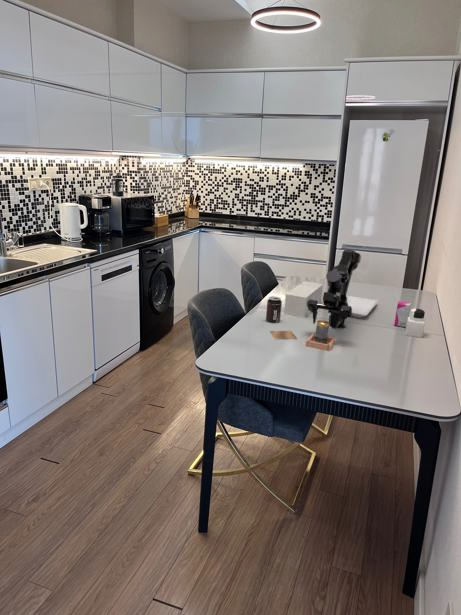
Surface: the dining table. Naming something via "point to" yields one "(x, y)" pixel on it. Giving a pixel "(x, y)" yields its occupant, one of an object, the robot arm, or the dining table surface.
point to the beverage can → (273, 309)
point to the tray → (360, 306)
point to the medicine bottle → (415, 323)
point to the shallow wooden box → (320, 345)
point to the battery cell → (322, 331)
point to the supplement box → (402, 314)
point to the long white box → (302, 298)
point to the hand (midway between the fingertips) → (324, 325)
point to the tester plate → (283, 335)
